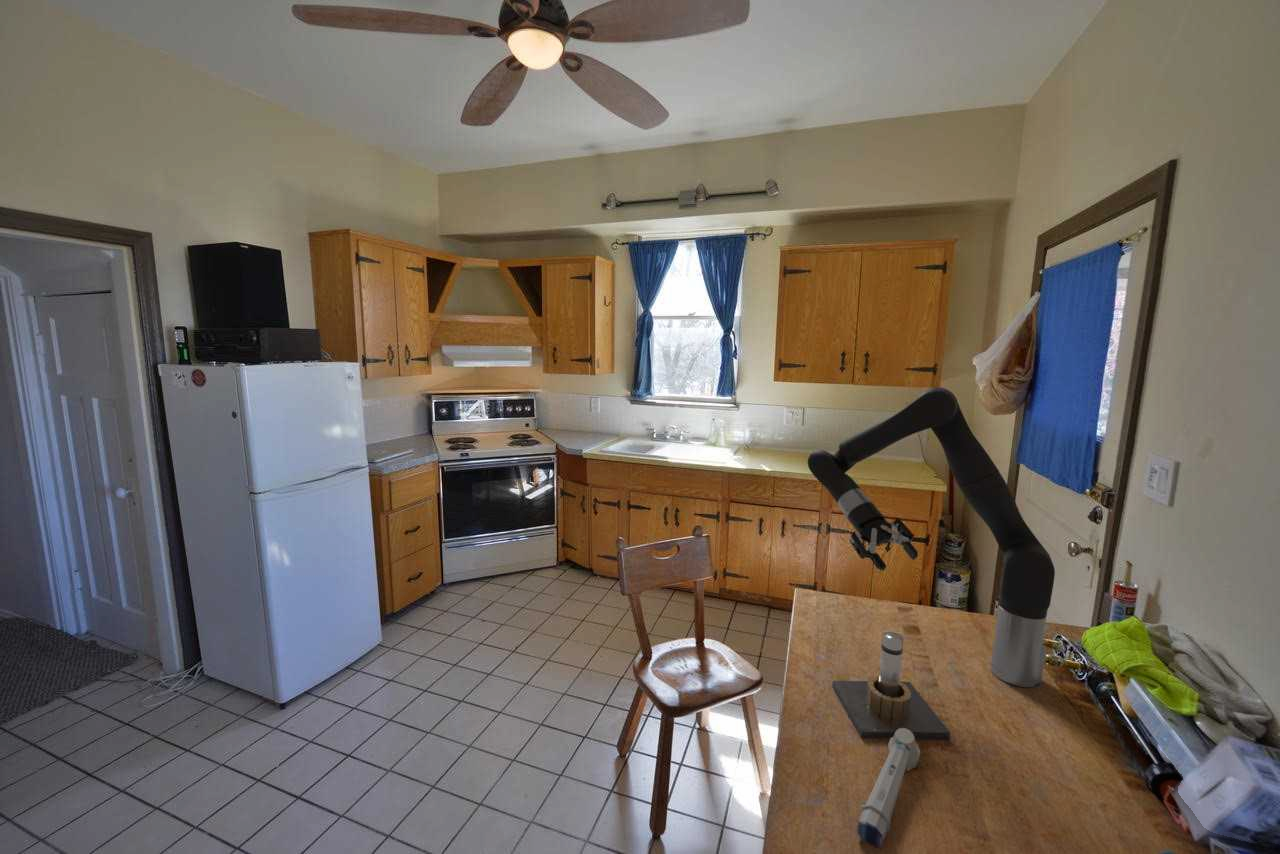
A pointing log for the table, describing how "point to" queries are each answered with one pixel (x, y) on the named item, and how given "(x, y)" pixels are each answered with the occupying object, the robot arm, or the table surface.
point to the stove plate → (884, 724)
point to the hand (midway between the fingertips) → (900, 563)
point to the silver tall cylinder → (890, 664)
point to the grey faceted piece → (888, 787)
